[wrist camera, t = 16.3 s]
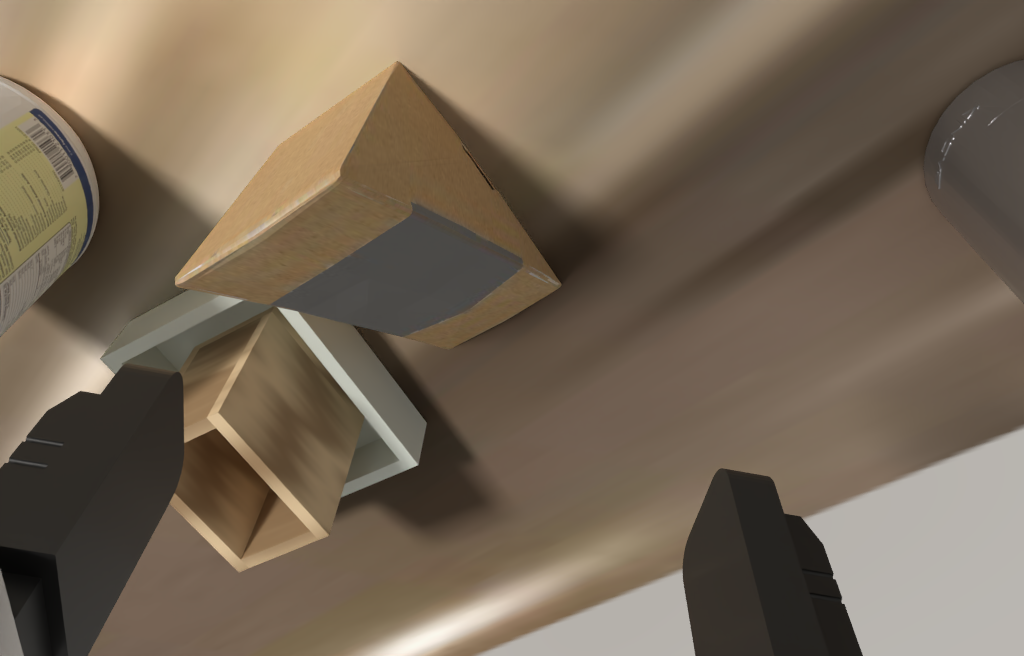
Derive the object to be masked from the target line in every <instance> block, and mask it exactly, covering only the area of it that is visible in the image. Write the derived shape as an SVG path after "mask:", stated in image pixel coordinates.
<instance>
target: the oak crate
mask: <svg viewBox="0 0 1024 656" xmlns="http://www.w3.org/2000/svg"><path fill="white" fill-rule="evenodd" d="M179 373H180V374H181V375H182V378H183V393H184V461H183V467H182V472H181V476H180V479H179V483H178V486H177V488H176V491H175V493H174V495H173V497H172V499H171V501H170V504H171V505H172V506H173V507H174V508H175V509H176V510H177V511H178V512H179V513H180V514H181V515H182V516H183V517H184V518H185V519H186V520H187V521H188V522H189V523H190V524H191V525H192V526H193V527H194V528H195V529H196V530H197V531H198V532H199V533H200V534H201V535H202V536H203V537H204V538H205V539H206V540H207V541H208V542H209V543H210V544H211V545H212V546H213V547H214V548H215V549H216V550H217V551H218V552H219V553H220V554H221V555H222V556H223V557H224V558H225V559H226V560H227V561H228V562H229V563H230V564H231V565H232V566H233V567H234V568H235V569H236V570H237V571H238V572H241V571H243V570H246V569H248V568H251V567H253V566H255V565H258V564H260V563H263V562H265V561H268V560H270V559H273V558H275V557H278V556H280V555H282V554H285V553H287V552H290V551H292V550H295V549H297V548H300V547H302V546H305V545H307V544H309V543H312V542H314V541H317V540H319V539H322V538H324V537H327V536H329V535H330V531H331V528H332V525H333V521H334V518H335V515H336V511H337V508H338V505H339V501H340V498H341V495H342V491H343V488H344V485H345V481H346V478H347V475H348V471H349V468H350V465H351V461H352V458H353V455H354V451H355V448H356V445H357V441H358V438H359V434H360V431H361V428H362V424H363V421H364V418H365V417H364V415H363V414H362V413H361V412H360V410H359V409H358V408H357V407H356V405H355V404H354V403H353V402H352V400H351V399H350V398H349V397H348V395H347V394H346V393H345V392H344V390H343V389H342V388H341V387H340V385H339V384H338V383H337V382H336V380H335V379H334V378H333V377H332V375H331V374H330V373H329V372H328V370H327V369H326V368H325V367H324V365H323V364H322V363H321V362H320V360H319V359H318V358H317V357H316V355H315V354H314V353H313V352H312V350H311V349H310V348H309V347H308V345H307V344H306V343H305V342H304V340H303V339H302V338H301V337H300V335H299V334H298V333H297V332H296V330H295V329H294V328H293V327H292V325H291V324H290V323H289V322H288V320H287V319H286V318H285V317H284V315H283V314H282V313H281V312H280V311H279V309H278V308H277V307H275V306H273V307H271V308H269V309H267V310H265V311H264V312H262V313H260V314H258V315H256V316H254V317H252V318H250V319H248V320H246V321H244V322H242V323H240V324H238V325H236V326H234V327H232V328H230V329H228V330H226V331H225V332H223V333H221V334H219V335H217V336H215V337H213V338H211V339H209V340H207V341H205V342H203V343H201V344H199V345H197V346H195V347H194V349H193V350H192V352H191V353H190V355H189V356H188V358H187V360H186V361H185V363H184V364H183V366H182V367H181V369H180V371H179Z"/></svg>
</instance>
